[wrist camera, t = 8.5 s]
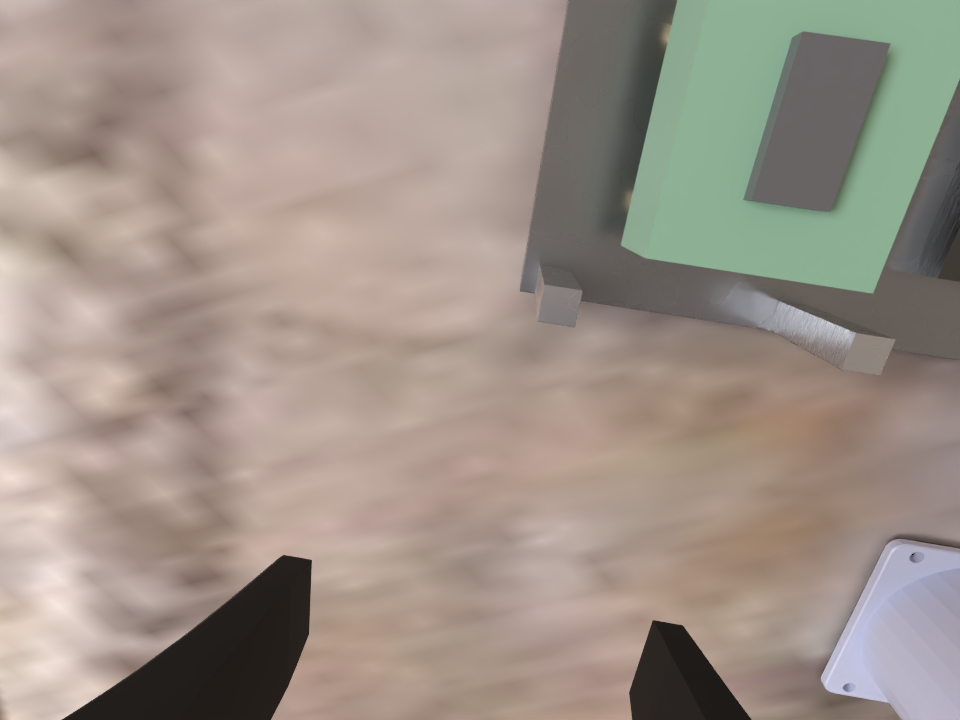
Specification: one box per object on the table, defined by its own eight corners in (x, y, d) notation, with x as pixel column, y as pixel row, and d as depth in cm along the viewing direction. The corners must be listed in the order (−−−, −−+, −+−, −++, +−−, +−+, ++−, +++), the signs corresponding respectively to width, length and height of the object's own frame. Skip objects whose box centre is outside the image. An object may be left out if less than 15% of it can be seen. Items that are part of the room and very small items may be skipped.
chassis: (1248, -47, 14) (1636, -175, 9) (1029, 365, 17) (1218, 429, 13) (590, -130, 14) (623, -292, 9) (520, 286, 18) (518, 318, 13)
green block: (925, -80, 11) (1087, -191, 8) (800, 273, 14) (885, 297, 11) (702, -110, 11) (772, -230, 8) (620, 245, 14) (649, 260, 11)
